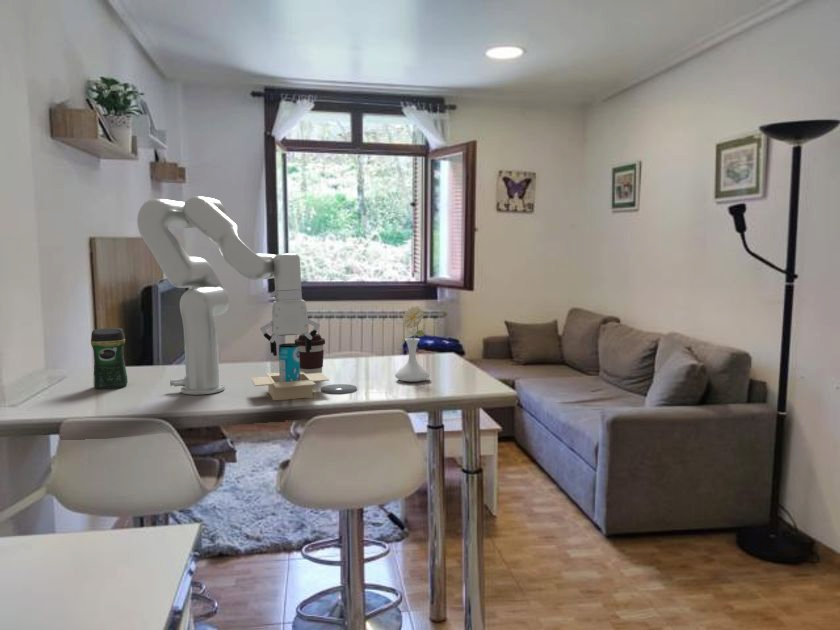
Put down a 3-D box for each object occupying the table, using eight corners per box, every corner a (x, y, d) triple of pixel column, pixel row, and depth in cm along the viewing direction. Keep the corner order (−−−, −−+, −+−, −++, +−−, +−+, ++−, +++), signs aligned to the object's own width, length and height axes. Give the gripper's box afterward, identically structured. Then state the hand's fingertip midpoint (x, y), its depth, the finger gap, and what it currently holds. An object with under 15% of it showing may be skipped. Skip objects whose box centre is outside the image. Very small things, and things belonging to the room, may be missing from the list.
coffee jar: (128, 383, 199) (126, 326, 197) (126, 388, 191) (123, 329, 190) (95, 385, 195) (92, 327, 194) (91, 390, 188) (88, 330, 186)
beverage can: (296, 397, 179) (294, 346, 177) (276, 396, 180) (275, 346, 178) (303, 392, 184) (302, 343, 183) (284, 392, 185) (283, 343, 184)
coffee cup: (309, 375, 211) (308, 332, 209) (331, 378, 206) (331, 334, 204) (289, 380, 202) (288, 335, 201) (312, 383, 197) (311, 337, 196)
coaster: (325, 395, 181) (325, 393, 181) (317, 387, 191) (317, 385, 191) (361, 392, 185) (361, 390, 185) (351, 384, 195) (351, 383, 195)
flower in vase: (389, 379, 205) (389, 304, 202) (419, 376, 210) (419, 303, 207) (406, 386, 193) (406, 307, 191) (438, 383, 198) (438, 306, 196)
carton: (257, 406, 168) (257, 388, 168) (249, 390, 188) (249, 374, 188) (333, 399, 176) (333, 382, 176) (318, 384, 196) (317, 369, 195)
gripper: (259, 298, 173) (262, 358, 174) (320, 295, 179) (323, 353, 180) (256, 296, 179) (259, 354, 181) (315, 294, 186) (317, 349, 187)
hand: (291, 353), depth 181 cm, fingers open, 9 cm apart
